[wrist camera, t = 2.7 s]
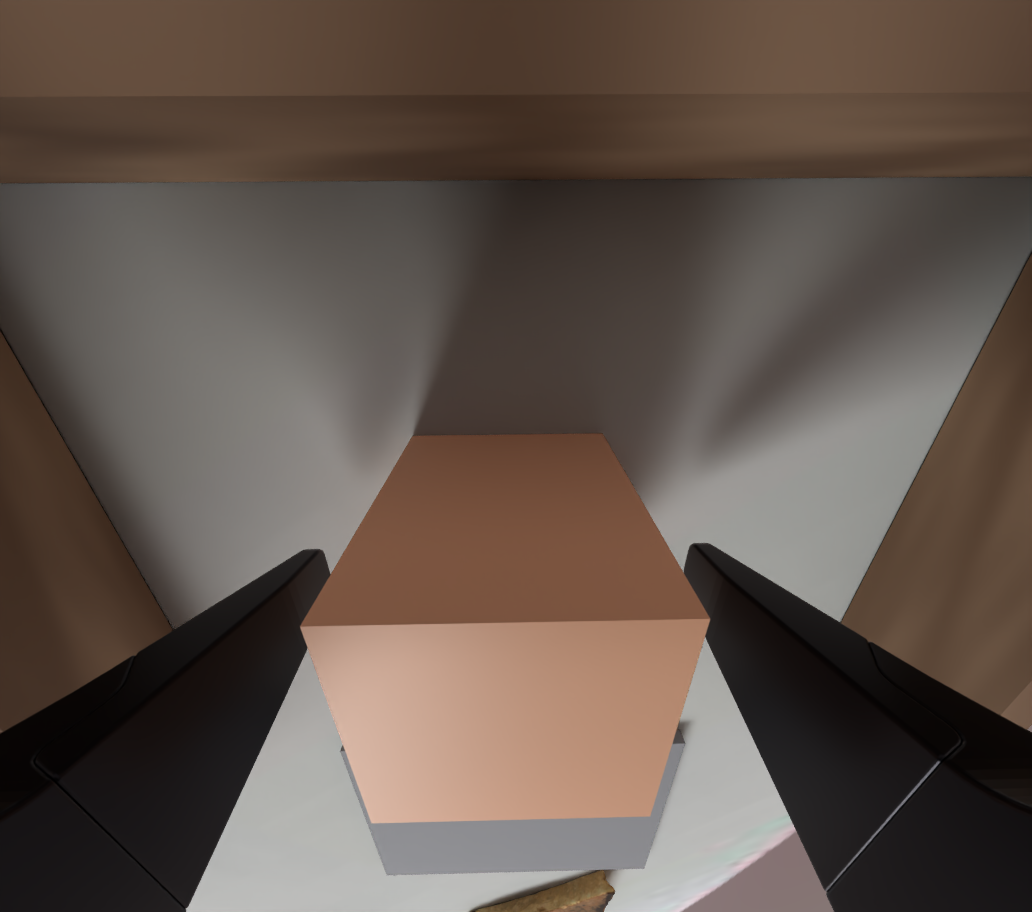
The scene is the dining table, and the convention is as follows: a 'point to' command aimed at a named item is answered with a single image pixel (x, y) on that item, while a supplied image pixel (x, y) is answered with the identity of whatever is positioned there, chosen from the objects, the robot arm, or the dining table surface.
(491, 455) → the terracotta block
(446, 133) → the walnut u-shaped frame
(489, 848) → the slate mat
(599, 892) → the shard
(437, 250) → the dining table surface
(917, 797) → the robot arm
